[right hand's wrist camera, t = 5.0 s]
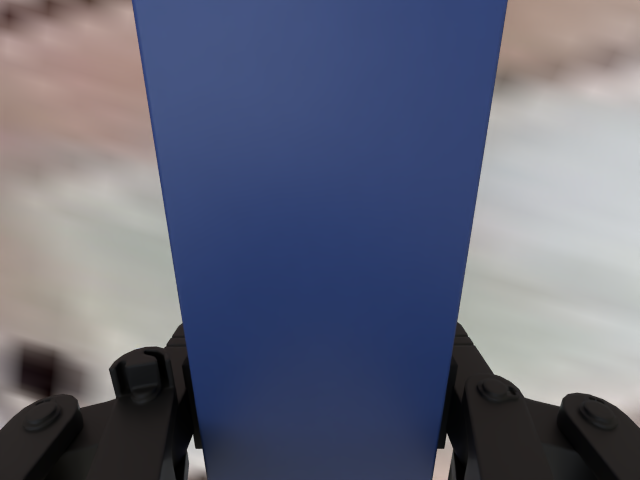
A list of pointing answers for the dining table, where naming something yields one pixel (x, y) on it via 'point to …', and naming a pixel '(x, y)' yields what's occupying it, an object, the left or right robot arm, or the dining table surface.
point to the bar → (319, 219)
